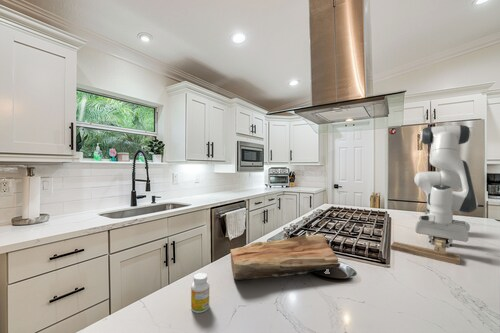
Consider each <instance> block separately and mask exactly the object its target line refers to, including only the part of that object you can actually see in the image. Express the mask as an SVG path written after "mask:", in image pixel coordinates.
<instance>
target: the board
mask: <svg viewBox="0 0 500 333" xmlns="http://www.w3.org/2000/svg"><path fill="white" fill-rule="evenodd" d="M390 250H393V251H397V252H402V253H406V254H410V255H414V256H419V257H423V258H429V259H432V260H436V261H440V262H445V263H448V264H454V265H458V266H460V261H461V260H460V254H455V253H451V252H442V251H439V252H437V250H434V249H432V248H428V247H422V246H418V245H412V244H410V243H409V244H408V243H404V242H399V241H393V242H392V244H390Z"/></svg>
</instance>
